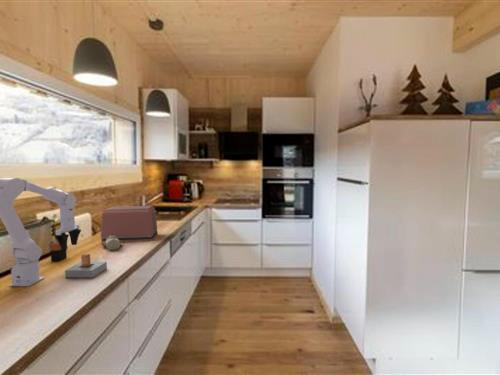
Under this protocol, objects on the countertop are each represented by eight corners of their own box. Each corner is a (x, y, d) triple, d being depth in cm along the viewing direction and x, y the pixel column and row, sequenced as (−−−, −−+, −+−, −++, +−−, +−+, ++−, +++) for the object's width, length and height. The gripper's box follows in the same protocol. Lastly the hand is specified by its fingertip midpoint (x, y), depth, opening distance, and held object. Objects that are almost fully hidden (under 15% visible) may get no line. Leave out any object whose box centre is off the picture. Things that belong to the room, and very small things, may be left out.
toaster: (155, 241, 198) (154, 209, 196) (99, 243, 195) (98, 210, 193) (161, 234, 217) (160, 205, 215) (110, 236, 214) (108, 206, 212)
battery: (67, 257, 166) (65, 238, 165) (59, 261, 159) (58, 242, 158) (58, 257, 166) (57, 238, 165) (50, 261, 159) (49, 242, 158)
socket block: (92, 278, 134) (91, 270, 134) (65, 278, 135) (64, 270, 135) (106, 269, 146) (106, 261, 146) (82, 268, 147) (81, 261, 147)
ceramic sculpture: (102, 237, 173) (100, 233, 186) (103, 252, 173) (101, 248, 186) (123, 234, 178) (120, 231, 191) (124, 250, 178) (120, 245, 191)
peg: (87, 273, 138) (86, 256, 138) (80, 273, 139) (79, 255, 138) (92, 271, 142) (91, 253, 141) (85, 270, 142) (84, 253, 142)
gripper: (65, 221, 140) (67, 251, 141) (84, 215, 154) (86, 242, 155) (50, 221, 140) (52, 251, 141) (70, 215, 155) (72, 242, 156)
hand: (69, 246), depth 148 cm, fingers open, 7 cm apart
